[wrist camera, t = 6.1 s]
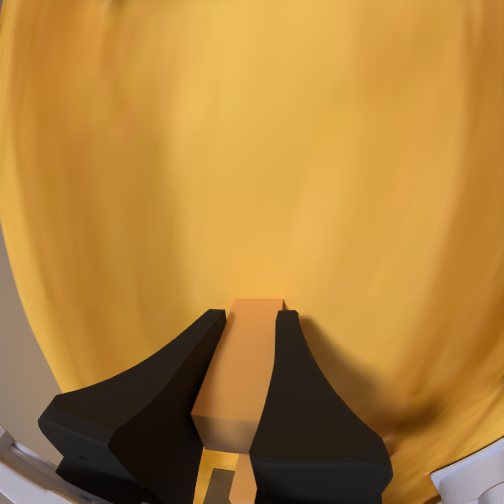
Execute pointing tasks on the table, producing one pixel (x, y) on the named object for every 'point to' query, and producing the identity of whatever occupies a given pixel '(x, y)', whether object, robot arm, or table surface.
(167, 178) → the table surface
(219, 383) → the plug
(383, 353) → the table surface
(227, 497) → the housing
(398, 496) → the table surface
